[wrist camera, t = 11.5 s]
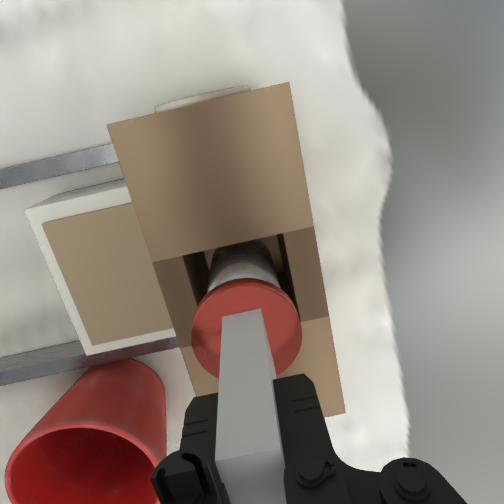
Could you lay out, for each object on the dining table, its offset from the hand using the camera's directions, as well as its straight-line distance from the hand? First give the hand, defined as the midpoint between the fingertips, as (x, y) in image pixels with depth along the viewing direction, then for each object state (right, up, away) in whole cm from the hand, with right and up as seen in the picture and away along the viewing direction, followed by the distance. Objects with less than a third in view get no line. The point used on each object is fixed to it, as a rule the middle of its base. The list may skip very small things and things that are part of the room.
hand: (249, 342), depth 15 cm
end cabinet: (-1, +6, +16) cm, 17 cm away
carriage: (-9, +4, +16) cm, 19 cm away
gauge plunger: (0, +3, +8) cm, 8 cm away
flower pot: (-12, -9, +21) cm, 26 cm away
